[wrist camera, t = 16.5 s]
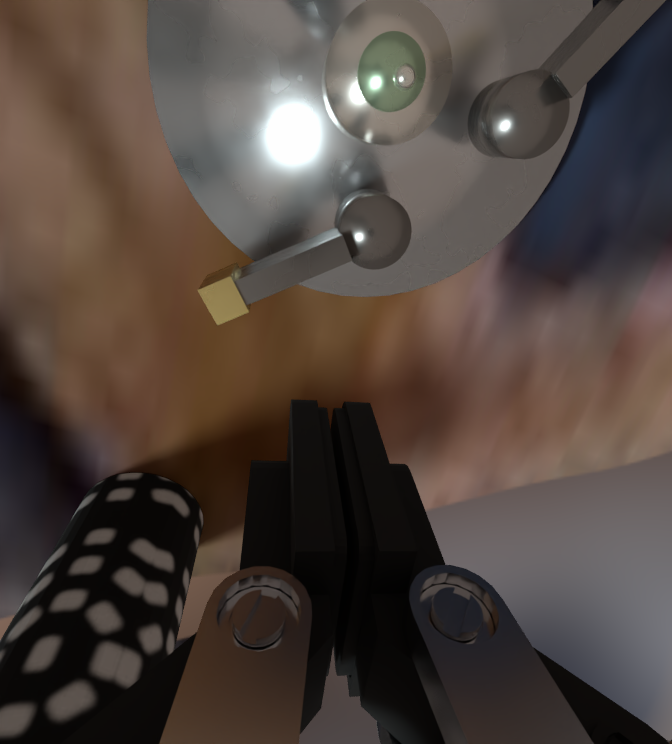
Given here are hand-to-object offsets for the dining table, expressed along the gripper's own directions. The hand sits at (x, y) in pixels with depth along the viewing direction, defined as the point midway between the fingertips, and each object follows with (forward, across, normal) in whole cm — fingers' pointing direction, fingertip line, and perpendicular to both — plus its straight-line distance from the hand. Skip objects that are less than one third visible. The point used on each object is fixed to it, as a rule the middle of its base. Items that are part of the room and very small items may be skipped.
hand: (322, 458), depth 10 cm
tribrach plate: (+17, -3, -9) cm, 20 cm away
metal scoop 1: (+16, 0, -1) cm, 16 cm away
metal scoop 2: (+16, -11, -11) cm, 22 cm away
